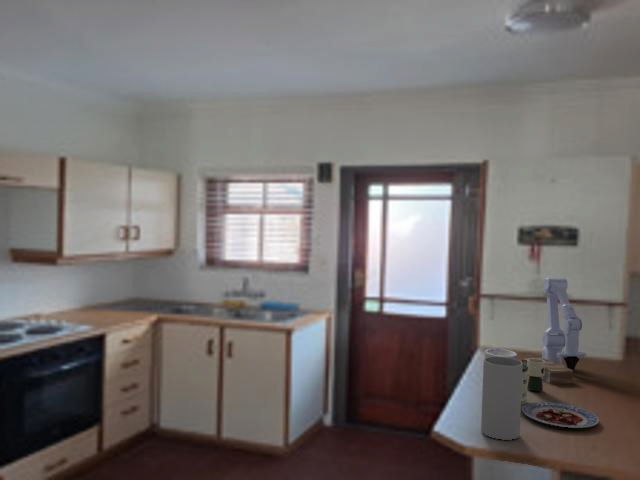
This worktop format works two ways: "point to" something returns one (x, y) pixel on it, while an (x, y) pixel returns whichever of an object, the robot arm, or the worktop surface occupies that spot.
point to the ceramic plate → (560, 415)
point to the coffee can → (524, 384)
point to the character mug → (535, 374)
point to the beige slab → (554, 372)
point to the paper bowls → (500, 353)
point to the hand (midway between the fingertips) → (570, 372)
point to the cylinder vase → (501, 397)
